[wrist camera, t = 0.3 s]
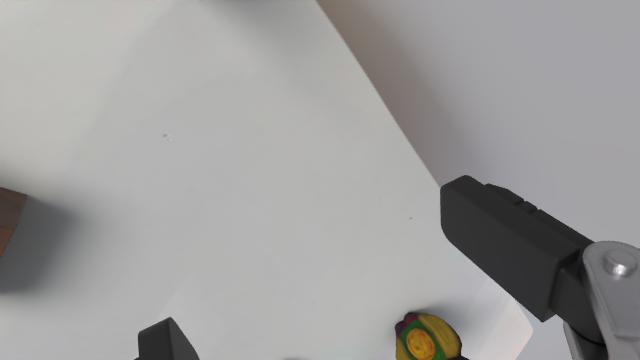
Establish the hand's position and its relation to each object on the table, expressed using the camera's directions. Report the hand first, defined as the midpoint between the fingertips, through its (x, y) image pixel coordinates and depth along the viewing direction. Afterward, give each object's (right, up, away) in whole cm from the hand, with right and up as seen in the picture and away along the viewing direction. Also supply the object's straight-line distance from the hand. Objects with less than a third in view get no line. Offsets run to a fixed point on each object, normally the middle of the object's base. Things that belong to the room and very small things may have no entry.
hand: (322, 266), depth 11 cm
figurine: (+14, -21, +53) cm, 59 cm away
